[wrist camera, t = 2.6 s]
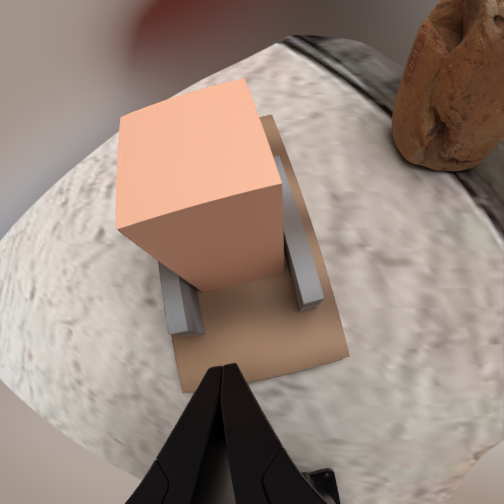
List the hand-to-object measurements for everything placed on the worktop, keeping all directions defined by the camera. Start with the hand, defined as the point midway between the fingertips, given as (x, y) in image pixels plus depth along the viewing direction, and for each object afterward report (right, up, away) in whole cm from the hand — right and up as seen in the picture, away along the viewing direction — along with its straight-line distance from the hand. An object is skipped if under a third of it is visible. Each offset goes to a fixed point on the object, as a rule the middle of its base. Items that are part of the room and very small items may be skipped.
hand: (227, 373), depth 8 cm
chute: (-1, +5, +16) cm, 16 cm away
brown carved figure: (+20, +14, +17) cm, 30 cm away
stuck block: (-1, +4, +14) cm, 14 cm away
